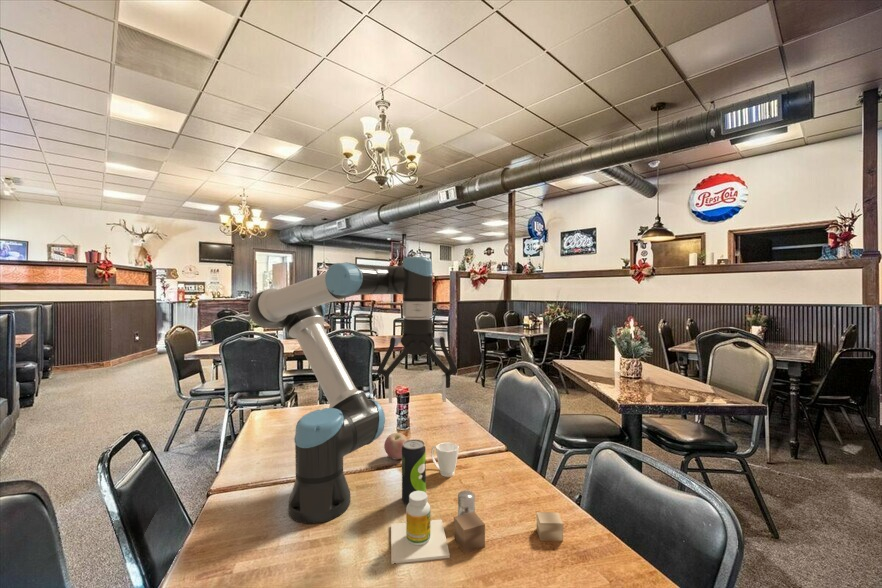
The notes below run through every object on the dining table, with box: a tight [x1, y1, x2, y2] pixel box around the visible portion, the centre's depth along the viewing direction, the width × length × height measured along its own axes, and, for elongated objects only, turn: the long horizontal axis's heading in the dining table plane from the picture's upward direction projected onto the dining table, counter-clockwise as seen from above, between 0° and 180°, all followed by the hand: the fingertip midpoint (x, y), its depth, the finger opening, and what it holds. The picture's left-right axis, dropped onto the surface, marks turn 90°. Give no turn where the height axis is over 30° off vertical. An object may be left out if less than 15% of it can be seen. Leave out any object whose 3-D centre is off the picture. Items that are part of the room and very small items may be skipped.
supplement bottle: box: [405, 491, 432, 546], centre depth 82 cm, size 5×5×10 cm
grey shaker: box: [457, 490, 476, 516], centre depth 90 cm, size 4×4×6 cm
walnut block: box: [453, 511, 486, 554], centre depth 82 cm, size 5×5×5 cm
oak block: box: [536, 511, 564, 542], centre depth 84 cm, size 5×4×4 cm
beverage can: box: [401, 438, 427, 506], centre depth 98 cm, size 6×6×15 cm
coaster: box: [390, 519, 451, 565], centre depth 82 cm, size 12×12×1 cm
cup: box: [430, 441, 460, 478], centre depth 113 cm, size 7×10×8 cm
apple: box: [383, 432, 409, 460], centre depth 122 cm, size 8×8×8 cm
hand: (417, 400), depth 95 cm, fingers open, 13 cm apart
